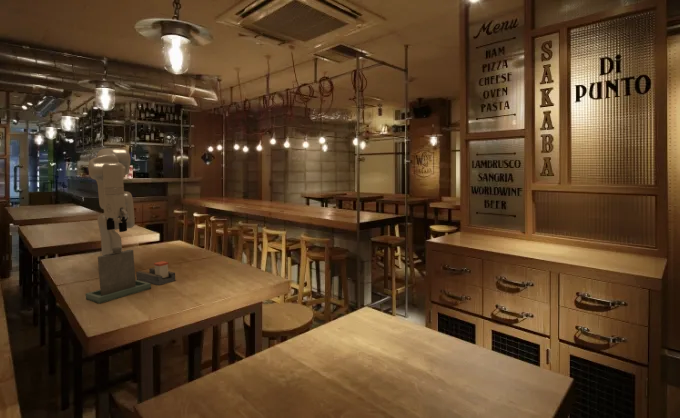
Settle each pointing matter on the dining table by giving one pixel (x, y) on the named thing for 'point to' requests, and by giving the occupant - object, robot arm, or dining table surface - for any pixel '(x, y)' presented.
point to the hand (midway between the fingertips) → (117, 230)
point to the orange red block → (161, 269)
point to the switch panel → (155, 277)
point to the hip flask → (116, 271)
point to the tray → (117, 293)
